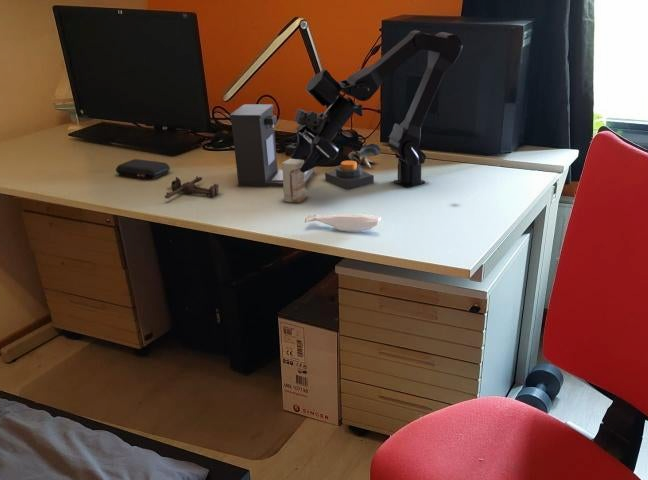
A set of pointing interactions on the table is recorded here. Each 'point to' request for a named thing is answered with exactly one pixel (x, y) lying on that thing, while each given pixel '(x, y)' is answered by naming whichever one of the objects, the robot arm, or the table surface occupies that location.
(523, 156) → the table surface
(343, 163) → the button
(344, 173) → the dark grey button base
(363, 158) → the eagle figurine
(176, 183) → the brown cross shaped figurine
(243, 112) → the coffee maker
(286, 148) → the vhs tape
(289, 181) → the cream carton
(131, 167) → the carrying case
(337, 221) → the white fish figurine
